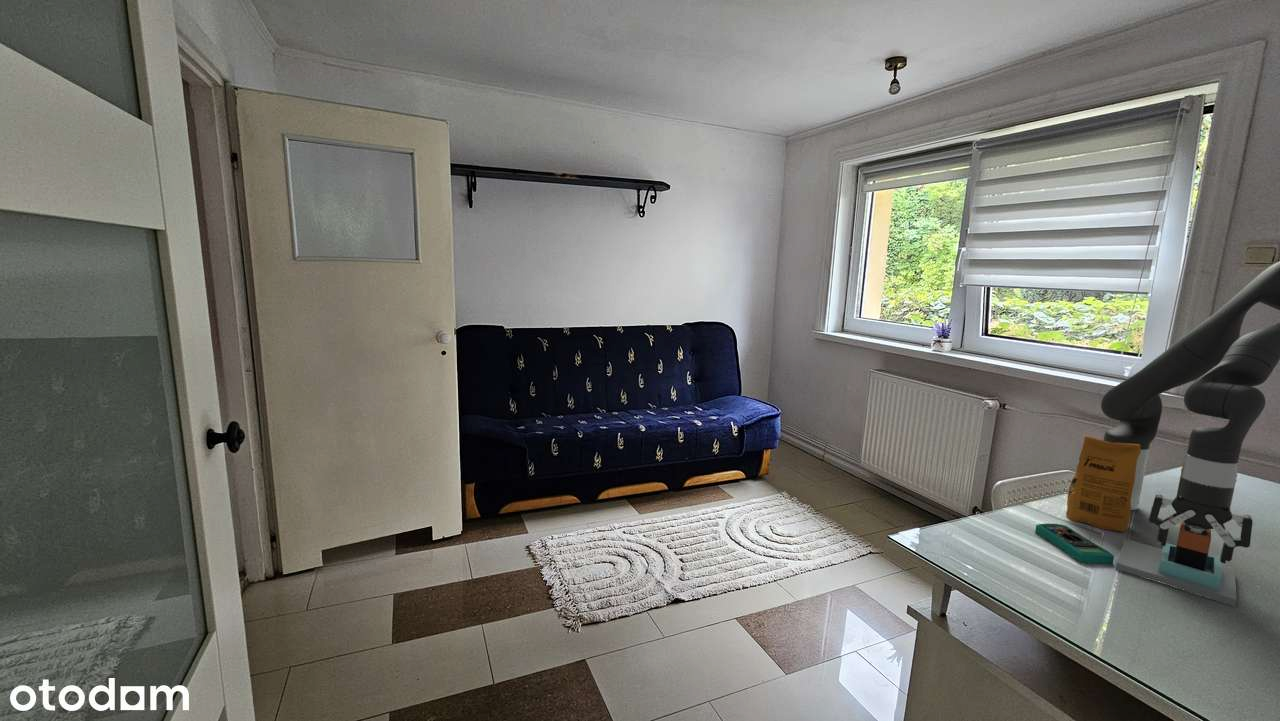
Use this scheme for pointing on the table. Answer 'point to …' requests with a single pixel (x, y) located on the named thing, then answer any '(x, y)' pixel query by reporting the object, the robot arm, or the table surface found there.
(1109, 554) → the digital multimeter
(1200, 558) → the battery
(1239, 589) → the table surface
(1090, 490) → the coffee package
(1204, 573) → the plate
